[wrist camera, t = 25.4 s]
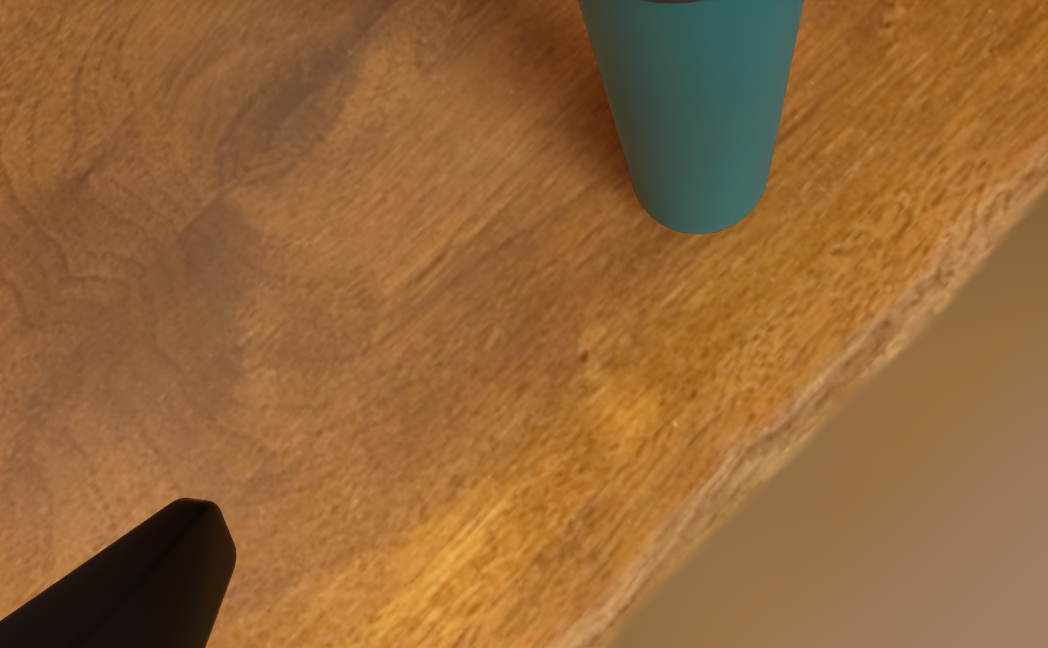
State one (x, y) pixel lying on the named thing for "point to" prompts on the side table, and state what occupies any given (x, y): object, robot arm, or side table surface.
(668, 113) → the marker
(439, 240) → the side table surface
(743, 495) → the side table surface
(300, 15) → the side table surface
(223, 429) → the side table surface
